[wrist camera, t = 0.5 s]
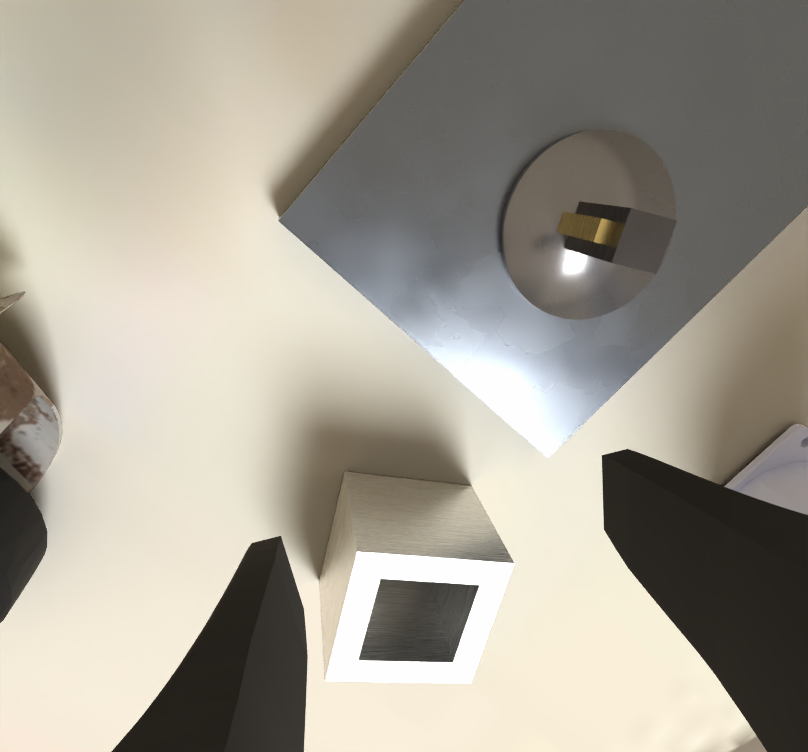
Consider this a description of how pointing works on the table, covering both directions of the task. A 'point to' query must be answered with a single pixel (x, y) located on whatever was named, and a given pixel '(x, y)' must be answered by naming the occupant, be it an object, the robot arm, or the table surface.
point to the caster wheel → (22, 471)
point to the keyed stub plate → (567, 188)
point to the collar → (409, 581)
